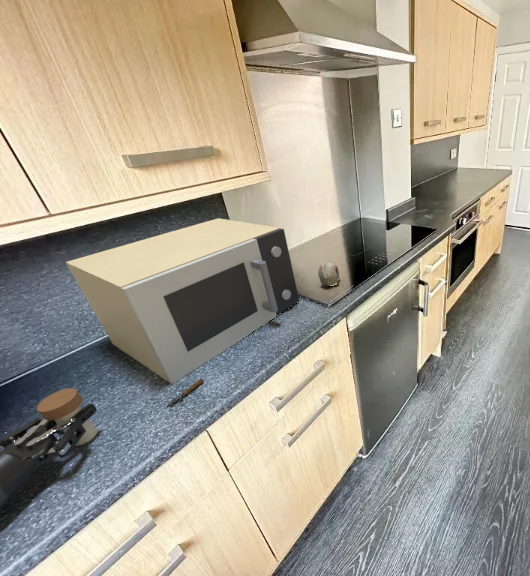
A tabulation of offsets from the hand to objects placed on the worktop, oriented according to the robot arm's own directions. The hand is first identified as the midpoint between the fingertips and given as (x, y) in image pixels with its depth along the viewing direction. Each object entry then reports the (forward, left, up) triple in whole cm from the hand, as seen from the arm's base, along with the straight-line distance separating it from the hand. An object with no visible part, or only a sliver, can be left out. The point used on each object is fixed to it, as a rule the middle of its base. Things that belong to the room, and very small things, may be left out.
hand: (83, 406), depth 65 cm
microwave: (+14, +38, -6) cm, 40 cm away
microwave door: (+24, +21, -6) cm, 32 cm away
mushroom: (-1, -3, -6) cm, 7 cm away
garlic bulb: (+52, +54, -6) cm, 76 cm away
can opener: (+16, +5, -6) cm, 18 cm away
